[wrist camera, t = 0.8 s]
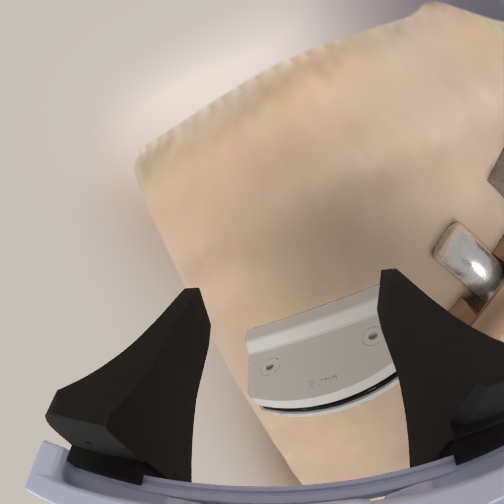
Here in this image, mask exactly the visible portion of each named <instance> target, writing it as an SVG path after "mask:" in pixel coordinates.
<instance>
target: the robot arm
mask: <svg viewBox="0 0 504 504" xmlns="http://www.w3.org/2000/svg"><path fill="white" fill-rule="evenodd" d="M377 313H378V317H379V322H380V326H381V330H382V333H383V336H384V338H385V341H386V344H387V347H388V350H389V352H390V355H391V358H392V361H393V363H394V366H395V369H396V372H397V375H398V379H399V382H400V386H401V391H402V397H403V402H404V408H405V414H406V421H407V430H408V440H409V455H410V468H408V469H404V470H400V471H396V472H391V473H387V474H382V475H377V476H372V477H366V478H360V479H354V480H347V481H340V482H332V483H323V484H312V485H299V486H274V487H273V486H272V487H251V486H248V487H247V486H224V485H211V484H200V483H192V482H191V458H192V437H193V423H194V414H195V405H196V398H197V392H198V388H199V384H200V380H201V376H202V372H203V368H204V364H205V360H206V355H207V351H208V347H209V339H210V329H211V324H210V321H209V317H208V314H207V311H206V308H205V305H204V302H203V299H202V296H201V292H200V289H199V288H187V289H184V290H183V291H182V292H181V293H180V294H179V295H178V297H177V298H176V299H175V300H174V301H173V302H172V303H171V305H170V306H169V307H168V308H167V309H166V310H165V311H164V312H163V314H162V315H161V316H160V317H159V318H158V319H157V320H156V321H155V322H154V323H153V324H152V325H151V326H150V327H149V328H148V329H147V330H146V331H145V332H144V333H143V334H142V335H141V336H140V337H139V338H138V339H137V340H136V341H135V342H134V343H133V344H131V345H130V346H129V347H128V348H127V349H126V350H124V351H123V352H122V353H121V354H119V355H118V356H117V357H115V358H114V359H112V360H111V361H109V362H108V363H107V364H105V365H104V366H102V367H101V368H100V369H98V370H96V371H94V372H93V373H91V374H89V375H88V376H86V377H84V378H82V379H80V380H79V381H77V382H74V383H72V384H70V385H68V386H66V387H64V388H62V389H59V390H58V391H57V392H56V394H55V396H54V398H53V400H52V402H51V405H50V407H49V409H48V411H47V413H46V415H45V417H46V420H47V422H48V423H49V425H50V426H51V427H52V428H53V429H54V430H55V431H56V432H57V433H59V434H60V435H61V436H62V437H63V438H65V439H66V440H67V441H68V442H69V443H70V444H71V445H72V447H71V449H70V451H69V450H67V449H65V448H63V447H61V446H58V445H56V444H53V443H50V442H47V441H43V442H42V445H41V447H40V449H39V452H38V454H37V457H36V459H35V462H34V464H33V467H32V470H31V472H30V475H29V478H28V481H27V483H26V486H25V489H26V490H27V491H29V492H31V493H33V494H34V495H36V496H38V497H40V498H42V499H43V500H46V501H47V502H49V503H51V504H504V342H501V341H499V340H497V339H494V338H492V337H490V336H488V335H486V334H484V333H482V332H480V331H478V330H477V329H475V328H473V327H471V326H469V325H468V324H466V323H465V322H463V321H461V320H460V319H458V318H457V317H455V316H454V315H452V314H451V313H449V312H448V311H447V310H445V309H444V308H443V307H441V306H440V305H439V304H437V303H436V302H435V301H434V300H432V299H431V298H430V297H429V296H427V295H426V294H425V293H424V292H423V291H421V290H420V289H419V288H418V287H417V286H416V285H414V284H413V283H412V282H411V281H410V280H409V279H408V278H406V277H405V276H404V275H403V274H402V273H401V272H399V271H398V270H397V269H396V268H395V269H387V270H381V278H380V287H379V296H378V304H377ZM381 496H385V498H384V499H382V500H376V501H370V500H369V499H371V498H377V497H381Z"/></svg>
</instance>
